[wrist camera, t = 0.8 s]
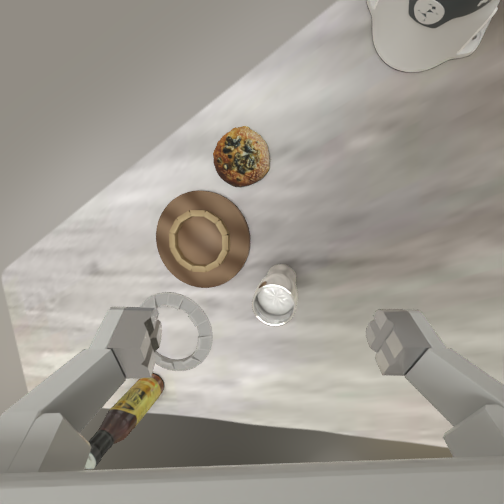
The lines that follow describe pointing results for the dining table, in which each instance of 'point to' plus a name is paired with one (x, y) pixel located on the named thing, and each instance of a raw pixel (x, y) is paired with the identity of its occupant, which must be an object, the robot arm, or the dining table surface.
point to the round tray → (203, 239)
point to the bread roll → (241, 157)
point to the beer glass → (276, 296)
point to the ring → (198, 320)
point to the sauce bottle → (124, 417)
